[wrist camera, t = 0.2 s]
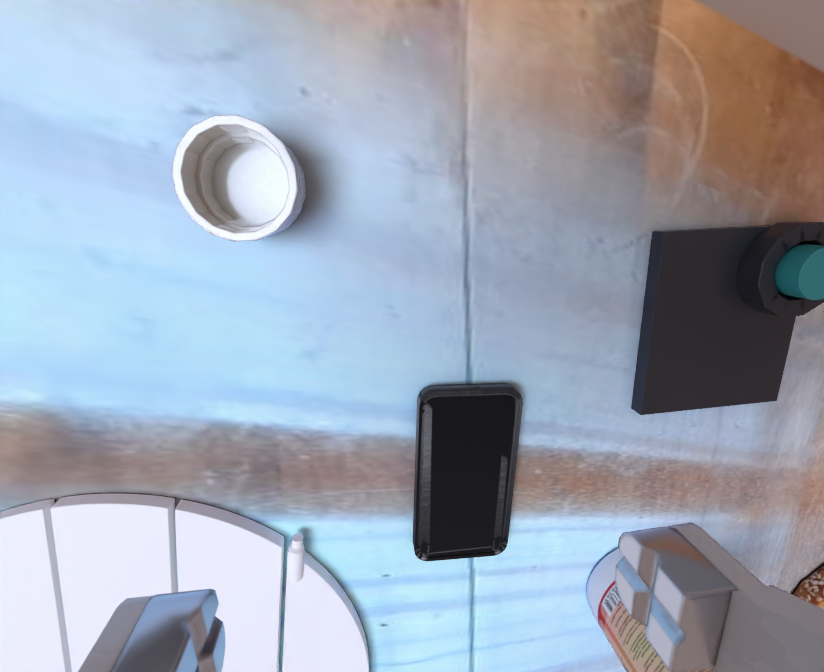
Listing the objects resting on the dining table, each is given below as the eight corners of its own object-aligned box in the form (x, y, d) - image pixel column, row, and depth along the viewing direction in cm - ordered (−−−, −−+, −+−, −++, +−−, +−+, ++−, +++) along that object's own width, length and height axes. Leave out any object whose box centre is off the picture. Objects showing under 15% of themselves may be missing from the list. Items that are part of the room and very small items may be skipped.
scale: (652, 227, 30) (684, 229, 27) (810, 219, 31) (855, 220, 29) (631, 408, 34) (656, 426, 31) (771, 394, 36) (807, 409, 33)
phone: (414, 562, 34) (420, 392, 30) (412, 551, 35) (417, 385, 31) (507, 554, 35) (525, 388, 31) (503, 544, 36) (520, 383, 32)
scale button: (779, 245, 29) (806, 247, 27) (826, 242, 29) (854, 244, 28) (769, 297, 30) (793, 302, 28) (814, 293, 30) (840, 298, 29)
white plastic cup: (194, 132, 25) (160, 116, 20) (300, 130, 25) (289, 113, 21) (212, 238, 26) (185, 243, 22) (311, 234, 27) (303, 238, 23)
